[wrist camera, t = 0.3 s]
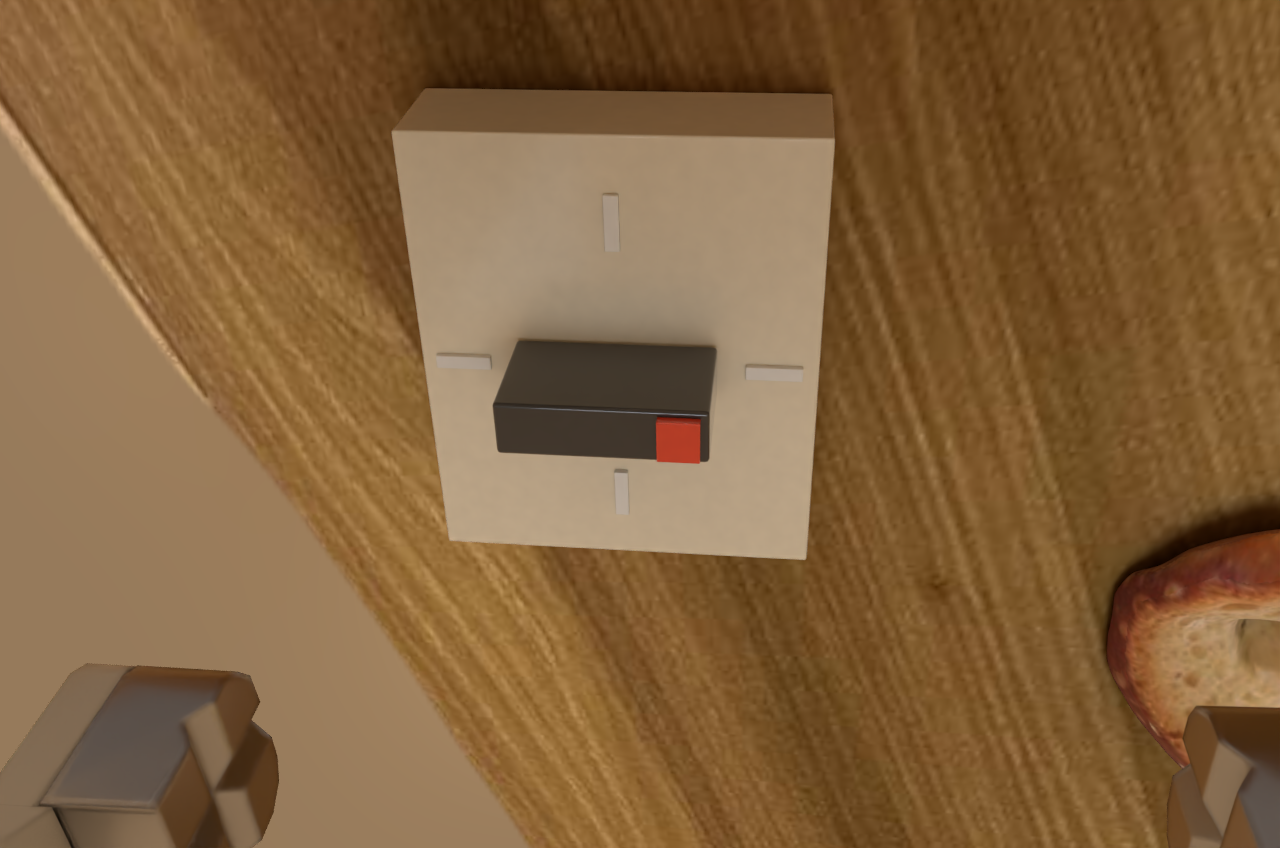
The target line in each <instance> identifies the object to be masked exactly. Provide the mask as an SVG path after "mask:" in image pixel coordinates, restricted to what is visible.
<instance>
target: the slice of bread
mask: <svg viewBox="0 0 1280 848" xmlns="http://www.w3.org/2000/svg"><path fill="white" fill-rule="evenodd" d="M1107 661H1108V664H1109V668H1110V671H1111V674H1112V676H1113V678H1114V680H1115V682H1116V684H1117V685H1118V687H1119V689H1120V691H1121V692H1122V694H1123V695H1124V697H1125V699H1126V701H1127V702H1128V704H1129V706H1130V707H1131V709H1132V711H1133V712H1134V714H1135V715H1136V716H1137V718H1138V719H1139V720H1140V722H1141V723H1142V724H1143V725H1144V727H1145V728H1146V729H1147V730H1148V731H1149V733H1150V734H1151V735H1152V736H1153V737H1154V738H1155V740H1156V741H1157V742H1158V743H1159V744H1160V745H1161V747H1162V748H1163V749H1164V750H1165V752H1166V753H1167V754H1168V755H1169V756H1170V757H1171V758H1172V759H1173V760H1174V761H1175V762H1176V763H1177V764H1178V765H1179V766H1180V767H1181V768H1182V769H1183V768H1184V767H1185V766H1187V765H1188V764H1189V763H1190V761H1189V758H1188V754H1187V751H1186V748H1185V745H1184V742H1183V739H1182V737H1183V734H1184V730H1185V726H1186V723H1187V719H1188V716H1189V715H1190V713H1191V712H1192V711H1193V709H1194V708H1195V706H1196V705H1198V706H1236V707H1274V708H1280V529H1276V530H1269V531H1262V532H1255V533H1250V534H1245V535H1240V536H1235V537H1231V538H1226V539H1222V540H1219V541H1215V542H1211V543H1208V544H1204V545H1201V546H1198V547H1195V548H1192V549H1189V550H1187V551H1185V552H1183V553H1181V554H1179V555H1178V556H1176V557H1175V558H1173V559H1171V560H1169V561H1168V562H1166V563H1164V564H1162V565H1159V566H1156V567H1153V568H1148V569H1143V570H1139V571H1136V572H1134V573H1132V574H1131V575H1129V576H1128V577H1127V578H1126V579H1125V580H1124V582H1123V583H1122V584H1121V585H1120V586H1119V588H1118V589H1117V591H1116V592H1115V595H1114V603H1113V612H1112V618H1111V623H1110V628H1109V632H1108V640H1107Z"/></svg>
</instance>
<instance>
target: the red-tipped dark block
mask: <svg viewBox="0 0 1280 848" xmlns="http://www.w3.org/2000/svg"><path fill="white" fill-rule="evenodd" d="M717 352H718V351H717V349H716V348H714V347H687V346H660V345H632V344H604V343H577V342H549V341H522V340H520V341H517V343H516V346H515V348H514V351H513V353H512V356H511V359H510V361H509V364H508V366H507V369H506V371H505V374H504V377H503V379H502V382H501V384H500V387H499V389H498V392H497V395H496V397H495V400H494V402H493V405H492V407H493V417H494V426H495V435H496V444H497V450H498V452H500V453H518V454H539V455H561V456H583V457H604V458H626V459H648V460H657V462H670V463H691V464H700V462H708V460H709V459H710V451H711V442H712V433H713V424H714V415H715V406H716V397H717Z"/></svg>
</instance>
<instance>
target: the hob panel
mask: <svg viewBox="0 0 1280 848" xmlns="http://www.w3.org/2000/svg"><path fill="white" fill-rule="evenodd" d="M391 133H392V140H393V147H394V154H395V161H396V169H397V176H398V183H399V190H400V197H401V204H402V211H403V218H404V225H405V232H406V239H407V246H408V253H409V260H410V267H411V274H412V282H413V289H414V296H415V303H416V310H417V317H418V324H419V331H420V338H421V345H422V352H423V359H424V366H425V373H426V380H427V388H428V395H429V402H430V409H431V416H432V423H433V430H434V437H435V444H436V451H437V458H438V465H439V472H440V479H441V486H442V494H443V501H444V508H445V515H446V522H447V529H448V536H449V540H450V541H464V542H482V543H501V544H519V545H538V546H556V547H574V548H593V549H611V550H630V551H648V552H667V553H685V554H704V555H722V556H741V557H759V558H778V559H796V560H806V558H807V545H808V530H809V516H810V501H811V486H812V472H813V457H814V443H815V428H816V413H817V399H818V384H819V370H820V355H821V340H822V326H823V311H824V297H825V282H826V267H827V253H828V238H829V224H830V209H831V194H832V180H833V165H834V151H835V128H834V110H833V96H832V95H831V94H798V93H727V92H657V91H586V90H516V89H445V88H425V89H424V90H423V91H422V93H421V94H420V95H419V96H418V98H417V99H416V100H415V102H414V103H413V104H412V105H411V107H410V108H409V109H408V111H407V112H406V113H405V114H404V116H403V117H402V118H401V119H400V121H399V122H398V123H397V125H396V126H395V127H394V128H393V130H392V132H391ZM520 340H522V341H549V342H577V343H604V344H632V345H660V346H687V347H714V348H716V349H717V351H718V352H717V397H716V406H715V415H714V424H713V433H712V442H711V451H710V459H709V460H708V462H700V464H691V463H670V462H657V460H648V459H626V458H604V457H583V456H561V455H539V454H518V453H500V452H498V450H497V444H496V435H495V426H494V417H493V407H492V405H493V402H494V400H495V397H496V395H497V392H498V389H499V387H500V384H501V382H502V379H503V377H504V374H505V371H506V369H507V366H508V364H509V361H510V359H511V356H512V353H513V351H514V348H515V346H516V343H517V341H520Z"/></svg>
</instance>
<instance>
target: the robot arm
mask: <svg viewBox="0 0 1280 848" xmlns="http://www.w3.org/2000/svg"><path fill="white" fill-rule="evenodd" d="M259 703H260V701H259V698H258V695H257V692H256V690H255V687H254V684H253V682H252V679H251V677H250V675H246V674H243V673H240V672H234V671H217V670H201V669H185V668H169V667H153V666H121V665H104V664H88V663H87V664H85V665H84V666H82V667H80V668H78V669H77V670H75V671H73V672H72V673H71V674H70V675H69V676H68V677H67V679H66V680H65V682H64V683H63V684H62V686H61V687H60V689H59V690H58V691H57V693H56V694H55V696H54V697H53V698H52V700H51V701H50V703H49V704H48V706H47V707H46V708H45V710H44V711H43V712H42V714H41V715H40V717H39V718H38V720H37V721H36V722H35V724H34V725H33V727H32V728H31V729H30V731H29V732H28V734H27V735H26V736H25V738H24V739H23V741H22V742H21V744H20V745H19V747H18V748H17V749H16V751H15V752H14V753H13V755H12V756H11V758H10V759H9V760H8V762H7V763H6V765H5V766H4V768H3V769H2V770H1V772H0V848H252V847H254V846H255V845H256V844H257V843H259V842H260V841H261V840H262V838H263V836H264V834H265V831H266V829H267V826H268V824H269V822H270V819H271V817H272V815H273V812H274V806H275V800H276V795H277V789H278V783H279V773H278V759H277V754H276V750H275V747H274V744H273V740H272V737H271V736H270V735H269V734H267V733H266V732H265V731H264V730H263V729H261V728H260V727H259V726H258V725H257V724H255V723H254V722H253V721H252V720H251V719H252V717H253V715H254V713H255V711H256V709H257V707H258V705H259ZM1182 739H1183V742H1184V745H1185V748H1186V751H1187V754H1188V758H1189V761H1190V763H1189V764H1188V765H1187V766H1185V767H1184V768H1183V769H1181V770H1180V771H1179V772H1177V773H1176V774H1175V775H1173V777H1172V782H1171V787H1170V792H1169V796H1168V801H1167V841H1168V847H1169V848H1280V708H1274V707H1236V706H1198V705H1196V706H1195V708H1194V709H1193V711H1192V712H1191V713H1190V715H1189V716H1188V719H1187V723H1186V726H1185V730H1184V734H1183V737H1182Z"/></svg>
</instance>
